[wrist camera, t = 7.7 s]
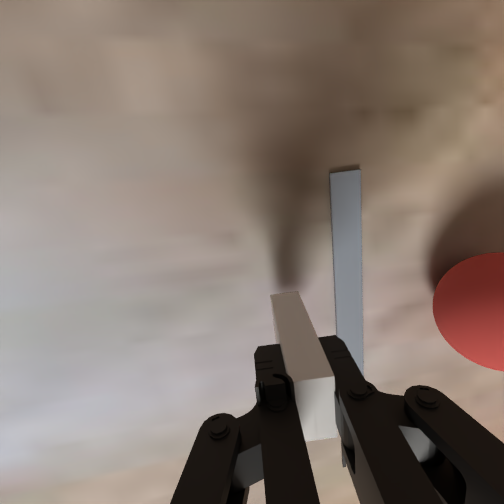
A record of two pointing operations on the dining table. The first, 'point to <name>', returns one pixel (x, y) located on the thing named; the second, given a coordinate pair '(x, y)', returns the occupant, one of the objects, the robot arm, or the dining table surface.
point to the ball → (473, 309)
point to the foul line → (348, 259)
